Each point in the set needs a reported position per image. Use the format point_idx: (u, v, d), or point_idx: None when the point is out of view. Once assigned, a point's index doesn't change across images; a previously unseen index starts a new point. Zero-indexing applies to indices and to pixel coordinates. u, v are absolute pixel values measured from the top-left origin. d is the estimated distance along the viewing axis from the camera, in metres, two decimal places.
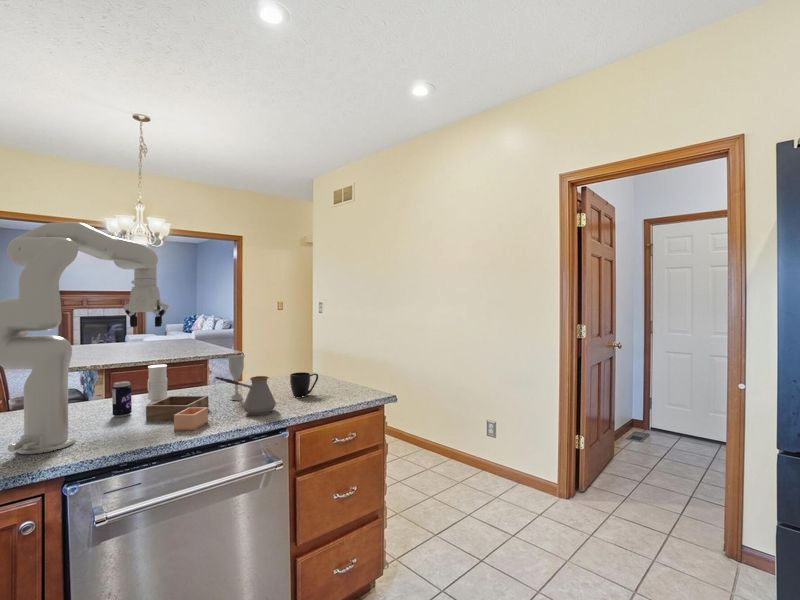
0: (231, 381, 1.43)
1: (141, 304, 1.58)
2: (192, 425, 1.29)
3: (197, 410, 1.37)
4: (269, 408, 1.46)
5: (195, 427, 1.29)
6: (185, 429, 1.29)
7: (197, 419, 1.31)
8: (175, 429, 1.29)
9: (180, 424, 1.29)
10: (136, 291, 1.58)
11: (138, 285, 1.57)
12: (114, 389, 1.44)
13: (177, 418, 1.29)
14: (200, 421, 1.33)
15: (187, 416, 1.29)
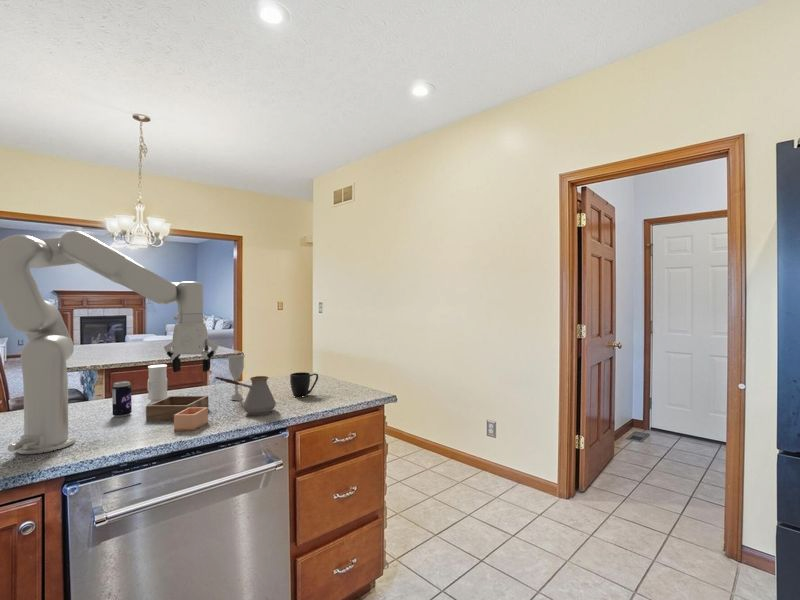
0: (231, 381, 1.43)
1: (186, 345, 1.31)
2: (192, 425, 1.29)
3: (197, 410, 1.37)
4: (269, 408, 1.46)
5: (195, 427, 1.29)
6: (185, 429, 1.29)
7: (197, 419, 1.31)
8: (175, 429, 1.29)
9: (180, 424, 1.29)
10: (181, 329, 1.31)
11: (183, 322, 1.30)
12: (114, 389, 1.44)
13: (177, 418, 1.29)
14: (200, 421, 1.33)
15: (187, 416, 1.29)
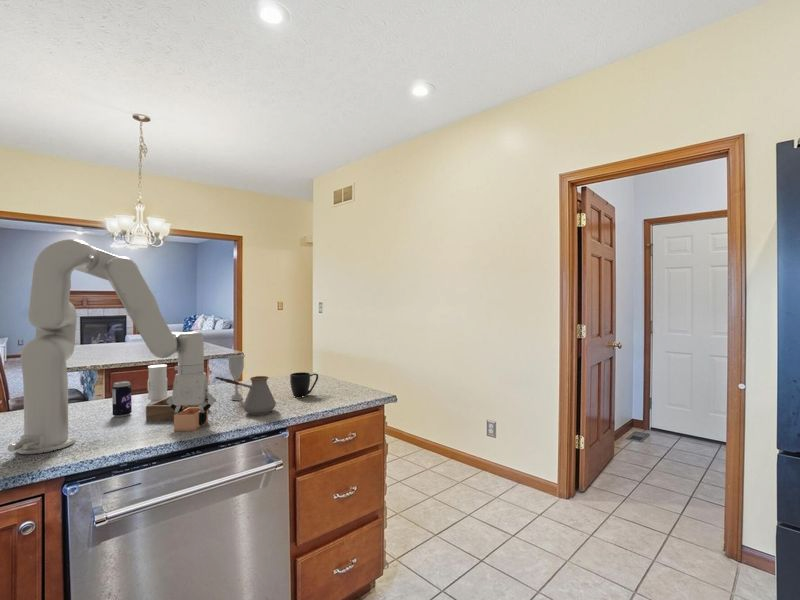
0: (231, 381, 1.43)
1: (187, 396, 1.31)
2: (192, 425, 1.29)
3: (197, 410, 1.37)
4: (269, 408, 1.46)
5: (195, 427, 1.29)
6: (185, 429, 1.29)
7: (197, 419, 1.31)
8: (175, 429, 1.29)
9: (180, 424, 1.29)
10: (181, 380, 1.31)
11: (183, 374, 1.30)
12: (114, 389, 1.44)
13: (177, 418, 1.29)
14: None
15: (187, 416, 1.29)
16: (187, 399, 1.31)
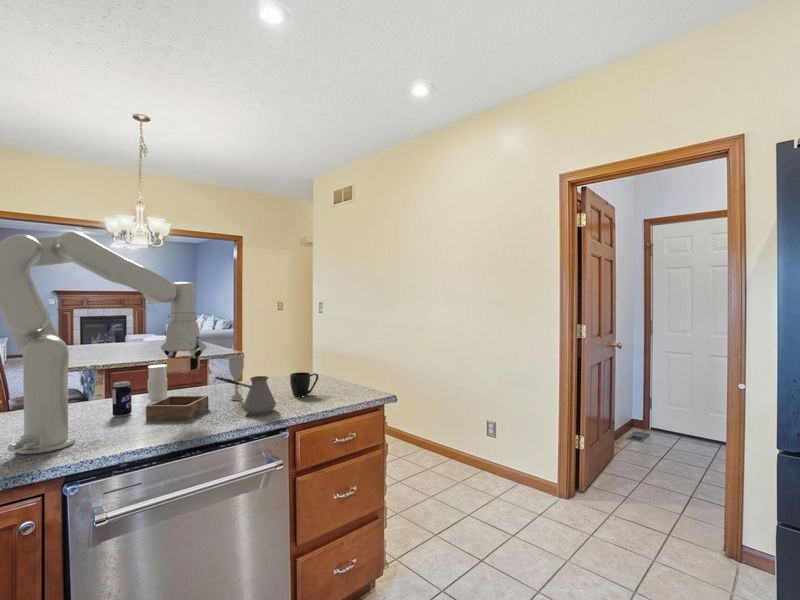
0: (231, 381, 1.43)
1: (179, 342, 1.39)
2: (183, 368, 1.37)
3: (190, 358, 1.45)
4: (269, 408, 1.46)
5: (186, 371, 1.37)
6: (177, 372, 1.37)
7: (188, 364, 1.39)
8: (168, 372, 1.37)
9: (172, 367, 1.37)
10: (173, 327, 1.39)
11: (175, 321, 1.38)
12: (114, 389, 1.44)
13: (170, 362, 1.37)
14: None
15: (179, 360, 1.37)
16: (179, 345, 1.38)
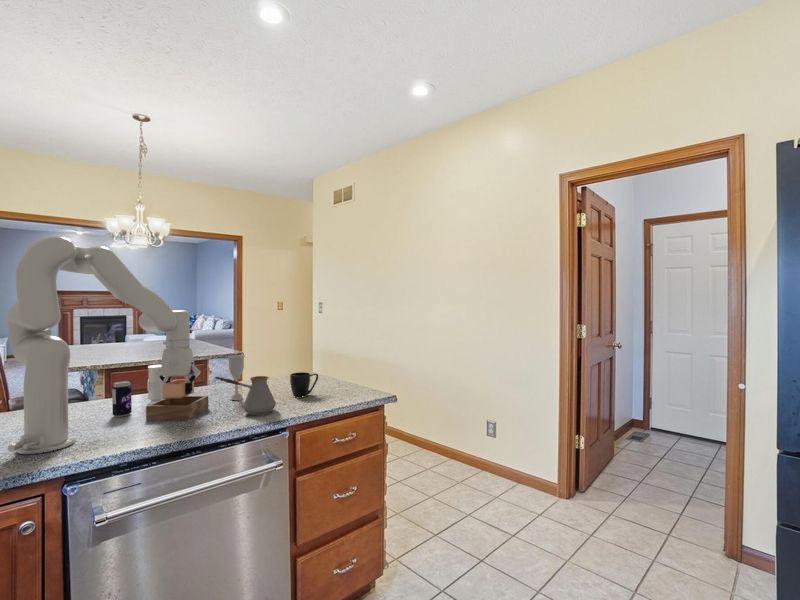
0: (231, 381, 1.43)
1: (174, 368, 1.45)
2: (179, 393, 1.43)
3: (184, 382, 1.52)
4: (269, 408, 1.46)
5: (181, 396, 1.44)
6: (172, 397, 1.43)
7: (183, 388, 1.45)
8: (163, 397, 1.43)
9: (168, 393, 1.43)
10: (169, 353, 1.45)
11: (171, 348, 1.44)
12: (114, 389, 1.44)
13: (165, 387, 1.43)
14: None
15: (174, 385, 1.43)
16: (174, 370, 1.45)
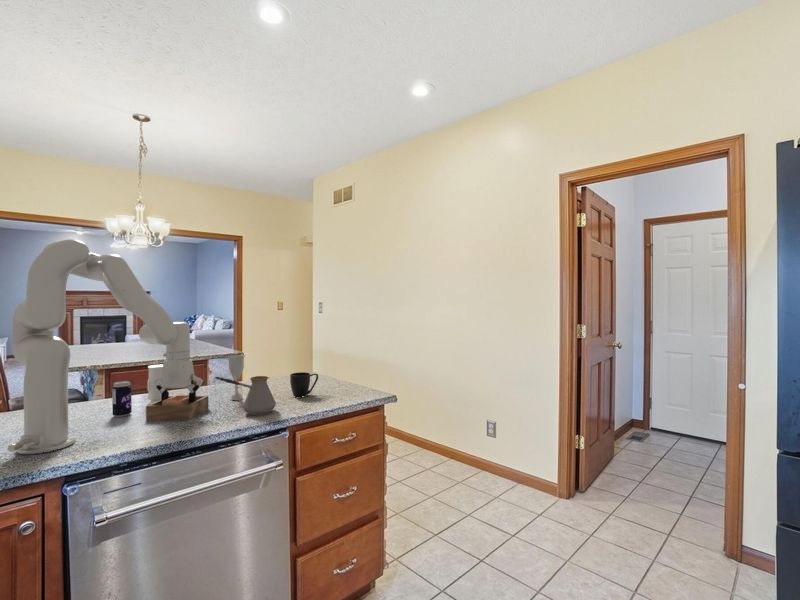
0: (231, 381, 1.43)
1: (174, 380, 1.45)
2: None
3: (184, 397, 1.51)
4: (269, 408, 1.46)
5: None
6: None
7: None
8: None
9: None
10: (169, 365, 1.45)
11: (171, 360, 1.44)
12: (114, 389, 1.44)
13: (165, 404, 1.43)
14: None
15: (174, 402, 1.43)
16: (174, 382, 1.45)
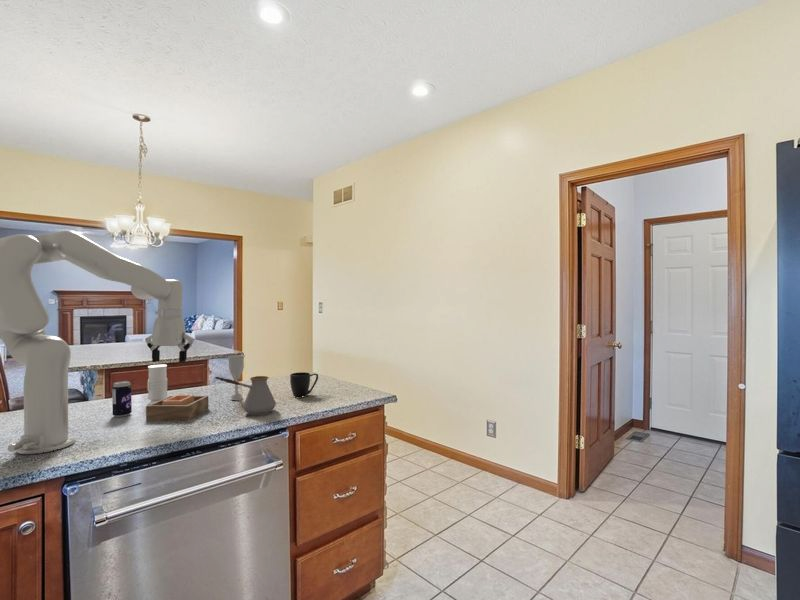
0: (231, 381, 1.43)
1: (165, 337, 1.44)
2: None
3: (184, 397, 1.51)
4: (269, 408, 1.46)
5: None
6: None
7: None
8: None
9: None
10: (160, 322, 1.44)
11: (162, 316, 1.43)
12: (114, 389, 1.44)
13: (165, 404, 1.43)
14: None
15: (174, 402, 1.43)
16: (165, 340, 1.44)
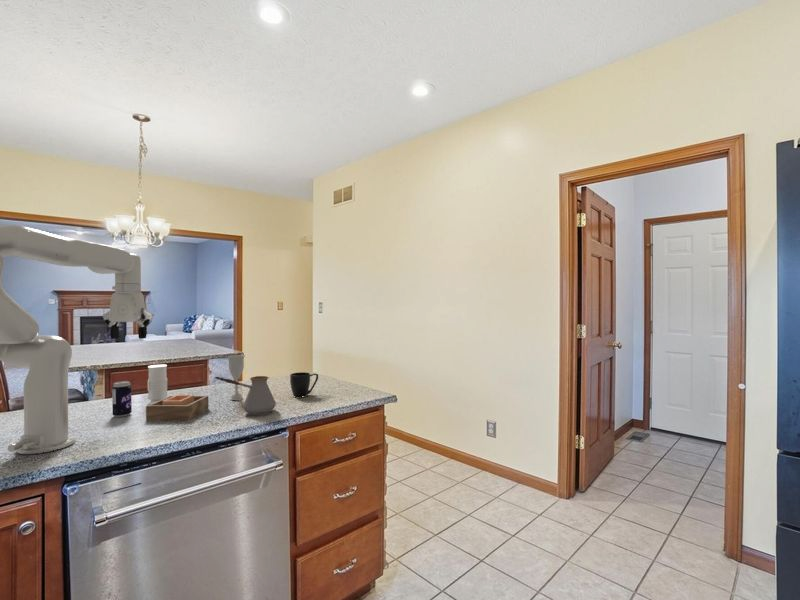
0: (231, 381, 1.43)
1: (123, 313, 1.39)
2: None
3: (184, 397, 1.51)
4: (269, 408, 1.46)
5: None
6: None
7: None
8: None
9: None
10: (117, 298, 1.39)
11: (119, 291, 1.38)
12: (114, 389, 1.44)
13: (165, 404, 1.43)
14: None
15: (174, 402, 1.43)
16: (123, 315, 1.39)
